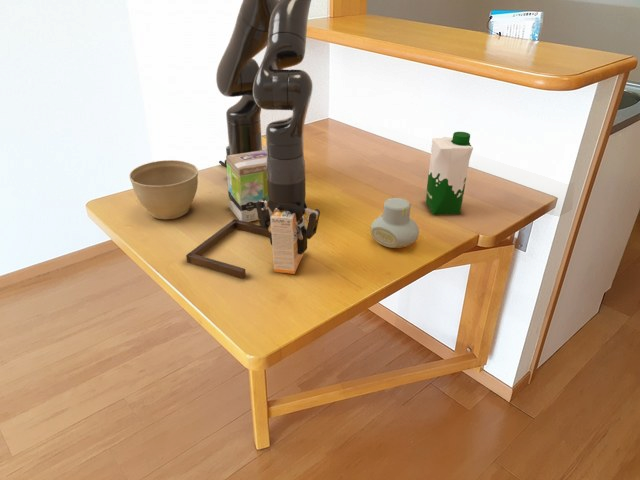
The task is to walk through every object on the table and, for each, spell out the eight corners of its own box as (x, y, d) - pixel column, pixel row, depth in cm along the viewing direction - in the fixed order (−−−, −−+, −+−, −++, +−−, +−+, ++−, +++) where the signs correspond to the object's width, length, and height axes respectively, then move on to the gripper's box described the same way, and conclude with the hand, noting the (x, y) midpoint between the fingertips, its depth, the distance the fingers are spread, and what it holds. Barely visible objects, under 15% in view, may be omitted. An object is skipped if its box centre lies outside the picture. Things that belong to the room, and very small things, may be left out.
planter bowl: (160, 233, 121) (153, 191, 115) (124, 212, 130) (116, 172, 124) (215, 211, 131) (211, 171, 125) (178, 192, 140) (173, 155, 135)
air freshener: (364, 240, 119) (366, 201, 114) (384, 227, 124) (387, 190, 119) (403, 257, 113) (407, 217, 108) (423, 243, 118) (428, 204, 113)
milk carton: (464, 215, 130) (477, 140, 120) (430, 216, 129) (440, 140, 119) (454, 200, 138) (465, 128, 127) (421, 201, 137) (429, 128, 127)
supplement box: (295, 274, 106) (293, 219, 100) (273, 272, 107) (269, 216, 100) (305, 254, 113) (303, 200, 106) (284, 252, 114) (281, 198, 107)
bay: (186, 262, 110) (185, 255, 109) (234, 225, 124) (234, 218, 124) (242, 279, 105) (242, 271, 104) (286, 238, 119) (285, 231, 118)
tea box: (242, 225, 124) (238, 168, 117) (229, 208, 132) (224, 154, 125) (298, 212, 130) (297, 158, 123) (282, 197, 138) (280, 145, 131)
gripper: (327, 174, 100) (326, 248, 109) (264, 163, 105) (268, 234, 114) (310, 188, 94) (311, 266, 103) (244, 176, 100) (250, 250, 108)
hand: (288, 249), depth 108 cm, fingers closed on supplement box, 5 cm apart
